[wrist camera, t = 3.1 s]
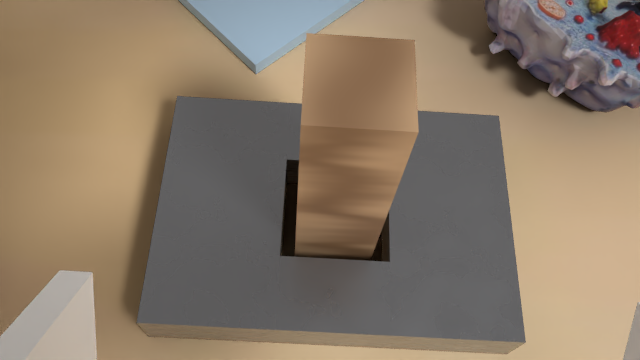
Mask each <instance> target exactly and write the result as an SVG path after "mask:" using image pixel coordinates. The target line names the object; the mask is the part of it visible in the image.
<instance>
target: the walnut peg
mask: <svg viewBox="0 0 640 360" xmlns="http://www.w3.org/2000/svg"><path fill="white" fill-rule="evenodd" d="M418 132H419V130H418V107H417V85H416V62H415V40H404V39H388V38H373V37H358V36H343V35H327V34H312V33H306V49H305V64H304V80H303V96H302V112H301V130H300V152H299V174H298V196H297V218H296V241H295V257H310V258H328V259H347V260H365V261H370V260H371V257H372V255H373V252H374V249H375V247H376V244H377V241H378V239H379V236H380V233H381V231H382V228H383V225H384V223H385V220H386V217H387V215H388V212H389V209H390V207H391V204H392V201H393V199H394V196H395V194H396V191H397V188H398V186H399V183H400V180H401V178H402V175H403V172H404V170H405V167H406V164H407V162H408V159H409V156H410V154H411V151H412V148H413V146H414V143H415V140H416V138H417V135H418Z"/></svg>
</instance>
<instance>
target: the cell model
mask: <svg viewBox="0 0 640 360" xmlns="http://www.w3.org/2000/svg"><path fill="white" fill-rule="evenodd" d="M485 11H486V13H487V24H488V27H489V29H490V30H491V31H492V32H495V33H497V37H496V38H495V40H494V41H493V42H492V43H491V44H490V45H489V48H490V51H491V53H492V54H495V53H498V52H500V51H502V50H509V52H510V53H511V54H512V55H513V56H515V57H516V58H517V59H518V61H517V64H518V65H519V66H520V67H521V68H522V69H527V70H528V71H529V72H530V73H531V74H532V75H533V76H534V77H535V78H537V79H539V80H541V81H543V82H546V83H550V86H549V88H548V92H549V93H550V94H551V95H552V96H554V97H557V96H558V95H559V94H561V93H562V92H564V93H565V94H566V95H568V96H569V97H570V98H572V99H573V100H575V101H576V102H578V103H580V104H581V105H583V106H585V107H587V108H589V109H591V110H595V111H601V112H609V111H613V110H615V109H618V108H620V107H622V106H626V105H627V106H629V107H631V108H637V107H639V106H640V0H485Z"/></svg>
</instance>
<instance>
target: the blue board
mask: <svg viewBox="0 0 640 360" xmlns="http://www.w3.org/2000/svg"><path fill="white" fill-rule="evenodd" d="M179 1H180V2H181V3H182V4H183V5H184V6H185V7H186V8H187V9H188V10H189V11H190V12H191V13H192V14H193V15H194V16H195V17H197V18H198V19H199V20H200V21H201V22H202V23H203V24H204V25H205V26H206V27H207V28H208V29H209V30H210V31H211V32H212V33H213V34H214V35H215V36H217V37H218V38H219V39H220V40H221V41H222V42H223V43H224V44H225V45H226V46H227V47H228V48H229V49H230V50H231V51H232V52H233V53H234V54H235V55H237V56H238V57H239V58H240V59H241V60H242V61H243V62H244V63H245V64H246V65H247V66H248V67H249V68H250V69H251V70H252V71H253V72H254V73H255V74H257V73H258V72H260V71H261V70H263V69H264V68H266V67H267V66H269V65H270V64H272V63H273V62H275V61H276V60H277V59H279V58H280V57H282V56H283V55H285V54H286V53H288V52H289V51H291V50H292V49H294V48H295V47H296V46H298V45H299V44H301V43H302V42H304V41H305V40H306V33H312V34H316V33H317V32H318V31H320V30H321V29H323V28H324V27H326V26H327V25H329V24H330V23H332V22H333V21H335V20H336V19H338V18H339V17H340V16H342V15H343V14H345V13H346V12H348V11H349V10H351V9H352V8H354V7H355V6H357V5H358V4H359V3H361V2H362V1H364V0H179Z"/></svg>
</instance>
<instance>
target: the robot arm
mask: <svg viewBox="0 0 640 360" xmlns="http://www.w3.org/2000/svg"><path fill="white" fill-rule="evenodd" d="M0 360H97V352H96V331H95V310H94V289H93V272H82V271H64V270H60V271H59V272H58V273H57V274H56V275H55V276H54V277H53V278H52V279H51V281H50V282H49V283H48V284H47V285H46V286H45V287H44V288H43V289H42V291H41V292H40V293H39V294H38V295H37V296H36V297H35V298H34V299H33V301H32V302H31V303H30V304H29V305H28V306H27V307H26V308H25V309H24V311H23V312H22V313H21V314H20V315H19V316H18V317H17V318H16V319H15V321H14V322H13V323H12V324H11V325H10V326H9V327H8V328H7V329H6V331H5V332H4V333H3V334H2V335H1V336H0ZM623 360H640V302H638V303H637V307H636V311H635V315H634V319H633V323H632V326H631V330H630V334H629V338H628V342H627V346H626V350H625V354H624V358H623Z"/></svg>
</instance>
